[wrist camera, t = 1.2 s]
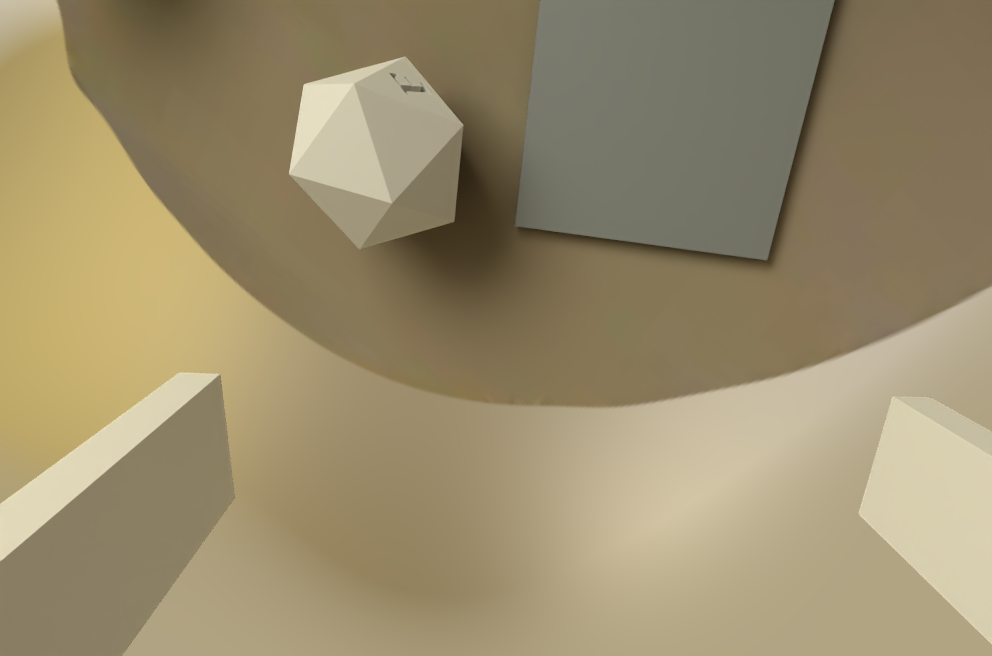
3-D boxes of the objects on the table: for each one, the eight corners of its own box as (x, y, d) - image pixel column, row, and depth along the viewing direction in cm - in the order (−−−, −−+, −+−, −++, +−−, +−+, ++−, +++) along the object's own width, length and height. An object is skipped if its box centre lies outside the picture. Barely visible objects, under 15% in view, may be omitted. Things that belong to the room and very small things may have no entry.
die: (502, 218, 32) (494, 96, 22) (374, 300, 30) (310, 206, 21) (426, 124, 34) (391, -21, 25) (304, 196, 33) (219, 71, 24)
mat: (568, -228, 25) (566, -236, 24) (891, -236, 22) (898, -246, 21) (517, 224, 31) (514, 225, 30) (764, 258, 28) (767, 260, 28)
